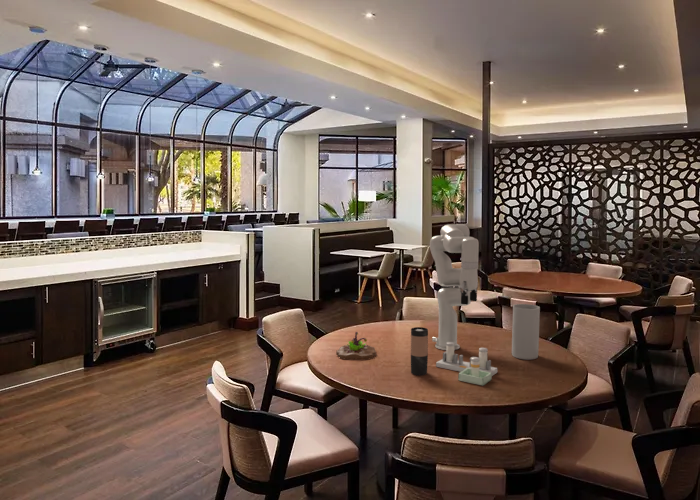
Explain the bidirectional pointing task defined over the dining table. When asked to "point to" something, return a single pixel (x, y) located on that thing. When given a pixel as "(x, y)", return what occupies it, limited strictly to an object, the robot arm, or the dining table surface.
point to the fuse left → (449, 352)
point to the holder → (462, 364)
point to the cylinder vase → (525, 331)
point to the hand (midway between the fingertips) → (468, 302)
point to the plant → (356, 350)
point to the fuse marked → (475, 366)
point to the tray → (481, 380)
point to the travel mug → (419, 350)
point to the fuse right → (483, 358)
